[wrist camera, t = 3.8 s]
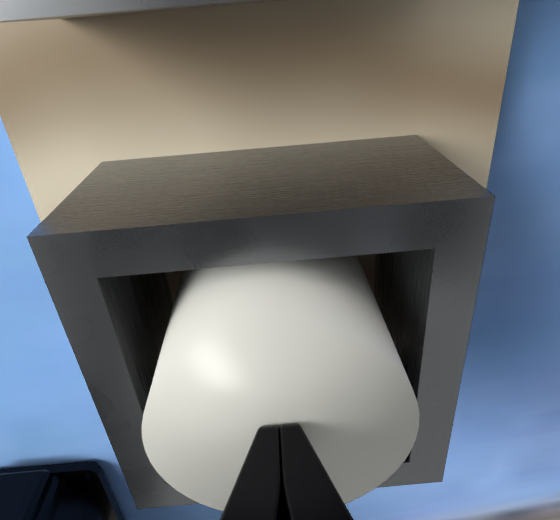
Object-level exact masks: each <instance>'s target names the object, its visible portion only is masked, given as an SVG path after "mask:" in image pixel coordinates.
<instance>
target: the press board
mask: <svg viewBox="0 0 560 520" xmlns="http://www.w3.org/2000/svg"><path fill="white" fill-rule="evenodd" d="M518 5H519V0H283V1H271V2H259V3H247V4H235V5H223V6H211V7H199V8H187V9H175V10H163V11H152V12H140V13H128V14H116V15H104V16H92V17H80V18H68V19H54V20H36V21H19V22H2V23H0V116H1V119H2V121H3V124H4V126H5V129H6V132H7V134H8V137H9V140H10V142H11V145H12V147H13V150H14V153H15V155H16V158H17V160H18V163H19V166H20V168H21V171H22V174H23V176H24V179H25V181H26V184H27V187H28V189H29V192H30V195H31V197H32V200H33V202H34V205H35V208H36V210H37V213H38V216H39V218H40V221H41V222H42V221H43V220H44V219H45V218H46V217H47V216H48V215H49V214H50V213H51V212H52V211H53V210H54V209H55V208H56V207H57V206H58V205H59V204H60V203H61V202H62V201H63V200H64V199H65V198H66V197H67V196H68V195H69V194H70V193H71V192H72V191H73V190H74V189H75V188H76V187H77V186H78V185H79V184H80V183H81V182H82V181H83V180H84V179H85V178H86V177H87V176H88V175H89V174H90V173H91V172H92V171H93V170H94V169H95V168H96V167H97V166H98V165H99V164H100V163H101V162H104V161H115V160H127V159H139V158H151V157H162V156H174V155H186V154H197V153H209V152H221V151H232V150H244V149H256V148H267V147H279V146H291V145H302V144H314V143H326V142H337V141H349V140H361V139H372V138H384V137H396V136H407V135H418V136H419V137H420V138H422V139H423V140H424V141H426V142H427V143H428V144H429V145H431V146H432V147H433V148H434V149H436V150H437V151H438V152H440V153H441V154H442V155H443V156H445V157H446V158H447V159H448V160H450V161H451V162H452V163H454V164H455V165H456V166H457V167H459V168H460V169H461V170H462V171H464V172H465V173H466V174H468V175H469V176H470V177H471V178H473V179H474V180H475V181H476V182H478V183H479V184H480V185H482V186H483V187H484V188H485V189H487V183H488V177H489V172H490V166H491V160H492V154H493V149H494V143H495V137H496V131H497V126H498V120H499V114H500V108H501V102H502V97H503V91H504V85H505V79H506V74H507V68H508V62H509V56H510V51H511V45H512V39H513V33H514V28H515V22H516V16H517V10H518ZM358 258H359V260H360V263H361V265H362V267H363V270H364V272H365V275H366V277H367V280H368V282H369V284H370V287H371V289H372V292H373V294H374V276H375V254H368V255H358ZM182 272H183V271H173V272H166V276H167V280H168V284H169V288H170V292H171V297H172V301H173V304H174V301H175V297H176V294H177V290H178V286H179V283H180V279H181V275H182Z"/></svg>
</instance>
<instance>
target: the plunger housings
mask: <svg viewBox="0 0 560 520" xmlns="http://www.w3.org/2000/svg"><path fill="white" fill-rule="evenodd" d="M271 1H283V0H0V23H2V22H19V21H36V20H54V19H68V18H80V17H92V16H104V15H116V14H128V13H140V12H152V11H163V10H175V9H187V8H199V7H211V6H223V5H235V4H247V3H259V2H271ZM494 200H495V196H494V195H493V194H492V193H490V192H489V191H488V190H487V189H485V188H484V187H483V186H482V185H480V184H479V183H478V182H476V181H475V180H474V179H473V178H471V177H470V176H469V175H468V174H466V173H465V172H464V171H462V170H461V169H460V168H459V167H457V166H456V165H455V164H454V163H452V162H451V161H450V160H448V159H447V158H446V157H445V156H443V155H442V154H441V153H440V152H438V151H437V150H436V149H434V148H433V147H432V146H431V145H429V144H428V143H427V142H426V141H424V140H423V139H422V138H420V137H419V136H418V135H407V136H396V137H384V138H372V139H361V140H349V141H337V142H326V143H314V144H302V145H291V146H279V147H267V148H256V149H244V150H232V151H221V152H209V153H197V154H186V155H174V156H162V157H151V158H139V159H127V160H115V161H104V162H101V163H100V164H99V165H98V166H97V167H96V168H95V169H94V170H93V171H92V172H91V173H90V174H89V175H88V176H87V177H86V178H85V179H84V180H83V181H82V182H81V183H80V184H79V185H78V186H77V187H76V188H75V189H74V190H73V191H72V192H71V193H70V194H69V195H68V196H67V197H66V198H65V199H64V200H63V201H62V202H61V203H60V204H59V205H58V206H57V207H56V208H55V209H54V210H53V211H52V212H51V213H50V214H49V215H48V216H47V217H46V218H45V219H44V220H43V221H42V222H41V223H40V224H39V225H38V226H37V227H36V228H35V229H34V230H33V231H32V232H31V233H30V234H29V235H28V236H27V239H28V241H29V244H30V246H31V248H32V251H33V253H34V256H35V258H36V261H37V263H38V266H39V268H40V271H41V273H42V275H43V278H44V280H45V283H46V285H47V288H48V290H49V293H50V295H51V298H52V300H53V303H54V305H55V307H56V310H57V312H58V315H59V317H60V320H61V322H62V325H63V327H64V330H65V332H66V334H67V337H68V339H69V342H70V344H71V347H72V349H73V352H74V354H75V357H76V359H77V361H78V364H79V366H80V369H81V371H82V374H83V376H84V379H85V381H86V384H87V386H88V389H89V391H90V393H91V396H92V398H93V401H94V403H95V406H96V408H97V411H98V413H99V416H100V418H101V420H102V423H103V425H104V428H105V430H106V433H107V435H108V438H109V440H110V443H111V445H112V447H113V450H114V452H115V455H116V457H117V460H118V462H119V465H120V467H121V470H122V472H123V474H124V477H125V479H126V482H127V484H128V487H129V489H130V492H131V494H132V497H133V499H134V502H135V504H136V506H137V509H145V508H156V507H167V506H178V505H189V504H200V503H198V502H196V501H194V500H192V499H190V498H188V497H186V496H185V495H183V494H182V493H180V492H178V491H177V490H176V489H174V488H173V487H172V486H171V485H169V484H168V483H167V482H166V481H165V480H164V479H163V478H162V477H161V476H160V475H159V474H158V473H157V471H156V470H155V468H154V467H153V465H152V464H151V462H150V461H149V458H148V456H147V454H146V452H145V449H144V445H143V441H142V427H141V426H142V420H143V413H144V410H145V406H146V402H147V399H148V395H149V391H150V388H151V384H152V381H153V377H154V373H155V370H156V366H157V362H158V359H159V355H160V352H161V348H162V344H163V341H164V337H165V333H166V330H167V326H168V323H169V319H170V315H171V312H172V308H173V301H172V297H171V292H170V288H169V284H168V280H167V276H166V272H173V271H185V270H196V269H207V268H219V267H230V266H242V265H253V264H265V263H276V262H288V261H299V260H311V259H322V258H333V257H345V256H356V255H368V254H375V276H374V297H375V299H376V301H377V304H378V306H379V309H380V311H381V314H382V316H383V318H384V321H385V323H386V326H387V328H388V331H389V333H390V335H391V338H392V340H393V343H394V345H395V348H396V350H397V352H398V355H399V357H400V360H401V362H402V364H403V367H404V369H405V372H406V374H407V377H408V379H409V381H410V384H411V386H412V389H413V391H414V394H415V397H416V399H417V402H418V408H419V428H418V433H417V437H416V440H415V442H414V445H413V447H412V450H411V451H410V453H409V455H408V456H407V458H406V459H405V461H404V462H403V463H402V464H401V466H400V467H399V468H398V469H397V470H396V471H395V472H394V473H393V474H392V475H391V476H390V477H389V478H388V479H387V480H386V481H384V482H383V483H382V484H380V485H379V486H378V487H388V486H399V485H410V484H421V483H432V482H442V480H443V474H444V469H445V464H446V458H447V453H448V447H449V442H450V437H451V431H452V426H453V420H454V415H455V410H456V404H457V399H458V394H459V388H460V383H461V377H462V372H463V367H464V361H465V356H466V350H467V345H468V340H469V334H470V329H471V324H472V318H473V313H474V307H475V302H476V297H477V291H478V286H479V281H480V275H481V270H482V264H483V259H484V254H485V248H486V243H487V237H488V232H489V227H490V221H491V216H492V211H493V205H494ZM376 488H377V487H376Z"/></svg>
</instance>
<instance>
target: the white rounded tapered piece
mask: <svg viewBox="0 0 560 520" xmlns="http://www.w3.org/2000/svg"><path fill="white" fill-rule="evenodd" d="M291 423H298V424H300V425H301V427H302V428H303V430H304V432H305V434H306V436H307V437H308V439H309V441H310V443H311V445H312V446H313V448H314V450H315V452H316V454H317V455H318V457H319V459H320V461H321V462H322V464H323V466H324V468H325V470H326V471H327V473H328V475H329V477H330V479H331V480H332V482H333V484H334V486H335V488H336V489H337V491H338V493H339V495H340V497H341V498H342V500H343V502H344V504H346V503H348V502H351V501H353V500H355V499H357V498H359V497H361V496H363V495H365V494H367V493H368V492H370V491H371V490H373V489H375V488H376V487H378V486H379V485H380V484H382V483H383V482H384V481H386V480H387V479H388V478H389V477H390V476H391V475H392V474H393V473H394V472H395V471H396V470H397V469H398V468H399V467H400V466H401V464H402V463H403V462H404V461H405V459H406V458H407V456H408V455H409V453H410V451H411V450H412V447H413V445H414V442H415V440H416V437H417V433H418V428H419V408H418V402H417V399H416V397H415V394H414V391H413V389H412V386H411V384H410V381H409V379H408V377H407V374H406V372H405V369H404V367H403V364H402V362H401V360H400V357H399V355H398V352H397V350H396V348H395V345H394V343H393V340H392V338H391V335H390V333H389V331H388V328H387V326H386V323H385V321H384V318H383V316H382V314H381V311H380V309H379V306H378V304H377V301H376V299H375V297H374V294H373V292H372V289H371V287H370V284H369V282H368V280H367V277H366V275H365V272H364V270H363V267H362V265H361V263H360V260H359V258H358V255H356V256H345V257H333V258H322V259H311V260H299V261H288V262H276V263H265V264H253V265H242V266H230V267H219V268H207V269H196V270H185V271H183V272H182V275H181V279H180V283H179V286H178V290H177V294H176V297H175V301H174V304H173V308H172V312H171V315H170V319H169V323H168V326H167V330H166V333H165V337H164V341H163V344H162V348H161V352H160V355H159V359H158V362H157V366H156V370H155V373H154V377H153V381H152V384H151V388H150V391H149V395H148V399H147V402H146V406H145V410H144V413H143V420H142V426H141V427H142V441H143V445H144V449H145V452H146V454H147V456H148V458H149V461H150V462H151V464H152V465H153V467H154V468H155V470H156V471H157V473H158V474H159V475H160V476H161V477H162V478H163V479H164V480H165V481H166V482H167V483H168V484H169V485H171V486H172V487H173V488H174V489H176V490H177V491H178V492H180V493H182V494H183V495H185V496H186V497H188V498H190V499H192V500H194V501H196V502H198V503H200V504H203V505H205V506H208V507H211V508H214V509H217V510H220V511H224V508H225V506H226V504H227V501H228V499H229V496H230V494H231V492H232V489H233V487H234V484H235V482H236V480H237V477H238V475H239V473H240V470H241V468H242V465H243V463H244V461H245V458H246V456H247V453H248V451H249V449H250V446H251V444H252V442H253V439H254V437H255V434H256V432H257V430H258V428H259V427H261V426H268V425H277V426H278V427H279V429H280V426H281V425H282V424H291Z"/></svg>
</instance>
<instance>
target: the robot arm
mask: <svg viewBox="0 0 560 520" xmlns="http://www.w3.org/2000/svg"><path fill="white" fill-rule="evenodd" d="M0 520H124V519H123V516H122V514H121V512H120V510H119V507H118V505H117V503H116V501H115V498H114V496H113V494H112V492H111V489H110V487H109V485H108V483H107V480H106V478H105V476H104V474H103V471H102V469H101V467H100V466H99V465H98V464H96V463H93V462H82V463H71V464H60V465H49V466H38V467H26V468H15V469H4V470H0ZM220 520H353V518H352V516H351V514H350V513H349V511H348V509H347V507H346V505H345V504H344V502H343V500H342V498H341V497H340V495H339V493H338V491H337V489H336V488H335V486H334V484H333V482H332V480H331V479H330V477H329V475H328V473H327V471H326V470H325V468H324V466H323V464H322V462H321V461H320V459H319V457H318V455H317V454H316V452H315V450H314V448H313V446H312V445H311V443H310V441H309V439H308V437H307V436H306V434H305V432H304V430H303V428H302V427H301V425H300V424H298V423H291V424H282V425H281V426H280V429H279V427H278V426H277V425H268V426H261V427H259V428H258V430H257V432H256V434H255V437H254V439H253V442H252V444H251V446H250V449H249V451H248V453H247V456H246V458H245V461H244V463H243V465H242V468H241V470H240V473H239V475H238V477H237V480H236V482H235V484H234V487H233V489H232V492H231V494H230V496H229V499H228V501H227V504H226V506H225V508H224V511H223V513H222V516H221V518H220Z"/></svg>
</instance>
